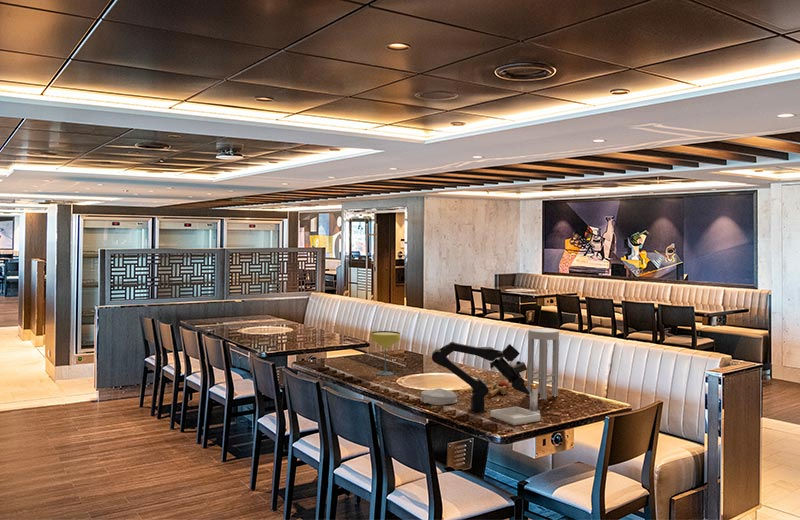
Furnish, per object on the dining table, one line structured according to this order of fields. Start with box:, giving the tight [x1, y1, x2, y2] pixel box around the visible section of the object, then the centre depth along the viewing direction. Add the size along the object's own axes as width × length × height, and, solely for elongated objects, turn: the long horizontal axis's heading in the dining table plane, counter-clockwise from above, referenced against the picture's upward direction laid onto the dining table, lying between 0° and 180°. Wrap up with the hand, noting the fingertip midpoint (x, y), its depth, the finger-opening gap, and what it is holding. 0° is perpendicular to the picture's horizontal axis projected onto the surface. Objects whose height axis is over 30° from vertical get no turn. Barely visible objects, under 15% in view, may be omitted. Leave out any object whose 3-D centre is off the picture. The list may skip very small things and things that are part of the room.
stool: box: [526, 328, 560, 400], centre depth 344 cm, size 16×16×35 cm
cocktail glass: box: [370, 330, 401, 376], centre depth 395 cm, size 18×18×25 cm
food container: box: [419, 387, 458, 406], centre depth 331 cm, size 20×20×7 cm
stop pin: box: [527, 383, 541, 414], centre depth 310 cm, size 6×6×14 cm
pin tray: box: [490, 406, 542, 426], centre depth 299 cm, size 16×16×3 cm
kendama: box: [486, 381, 510, 398], centre depth 346 cm, size 8×6×18 cm
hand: (527, 391), depth 310 cm, fingers open, 9 cm apart
